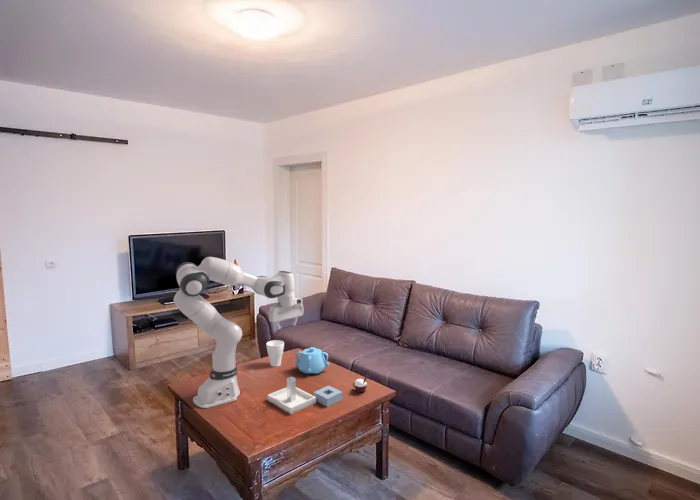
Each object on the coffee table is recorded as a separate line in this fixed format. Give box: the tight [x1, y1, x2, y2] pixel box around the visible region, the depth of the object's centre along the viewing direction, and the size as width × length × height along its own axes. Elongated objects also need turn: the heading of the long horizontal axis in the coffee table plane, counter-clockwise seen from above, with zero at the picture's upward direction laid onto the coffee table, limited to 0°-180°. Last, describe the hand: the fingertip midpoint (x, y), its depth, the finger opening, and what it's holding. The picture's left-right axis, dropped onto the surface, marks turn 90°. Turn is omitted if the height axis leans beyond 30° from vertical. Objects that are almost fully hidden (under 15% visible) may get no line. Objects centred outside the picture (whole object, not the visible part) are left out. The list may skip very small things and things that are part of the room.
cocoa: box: [352, 369, 370, 393], centre depth 207 cm, size 10×6×12 cm, turn 32°
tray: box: [266, 386, 317, 415], centre depth 197 cm, size 15×19×3 cm
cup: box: [265, 339, 285, 368], centre depth 242 cm, size 10×10×14 cm
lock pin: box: [286, 376, 297, 402], centre depth 196 cm, size 3×3×11 cm
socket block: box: [313, 385, 344, 407], centre depth 199 cm, size 10×10×4 cm
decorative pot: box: [294, 346, 330, 375], centre depth 233 cm, size 16×16×14 cm
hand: (286, 327), depth 214 cm, fingers open, 8 cm apart
